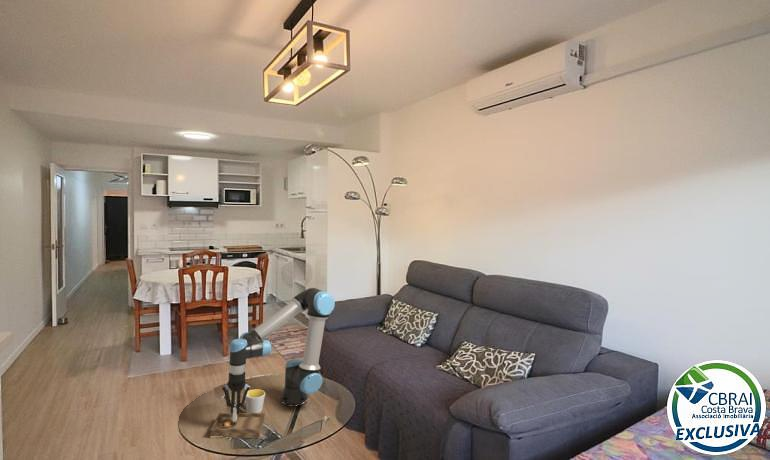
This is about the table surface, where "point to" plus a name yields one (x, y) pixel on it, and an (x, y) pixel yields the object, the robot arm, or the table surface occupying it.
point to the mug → (254, 401)
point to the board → (238, 425)
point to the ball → (227, 424)
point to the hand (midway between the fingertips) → (234, 420)
